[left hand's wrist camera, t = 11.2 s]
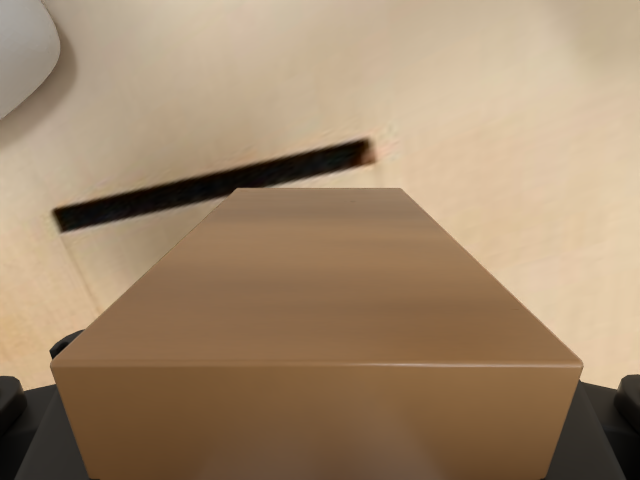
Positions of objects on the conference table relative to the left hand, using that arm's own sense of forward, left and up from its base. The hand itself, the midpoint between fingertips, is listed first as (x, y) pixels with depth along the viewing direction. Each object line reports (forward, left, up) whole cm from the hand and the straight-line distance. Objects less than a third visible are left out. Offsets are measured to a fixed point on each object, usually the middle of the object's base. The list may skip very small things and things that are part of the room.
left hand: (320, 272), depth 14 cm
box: (+7, +3, -1) cm, 8 cm away
